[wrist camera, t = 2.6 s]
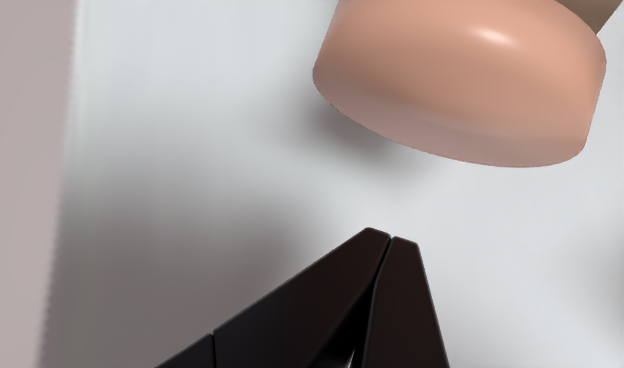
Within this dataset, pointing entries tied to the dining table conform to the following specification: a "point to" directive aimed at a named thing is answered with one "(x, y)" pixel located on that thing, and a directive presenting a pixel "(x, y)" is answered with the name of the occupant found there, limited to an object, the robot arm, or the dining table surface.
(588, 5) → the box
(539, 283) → the dining table surface
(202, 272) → the dining table surface
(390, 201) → the dining table surface
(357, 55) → the button terracotta
